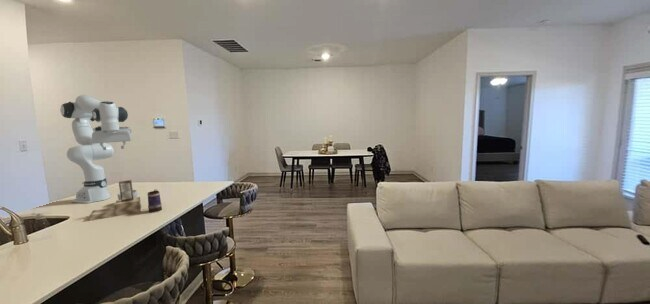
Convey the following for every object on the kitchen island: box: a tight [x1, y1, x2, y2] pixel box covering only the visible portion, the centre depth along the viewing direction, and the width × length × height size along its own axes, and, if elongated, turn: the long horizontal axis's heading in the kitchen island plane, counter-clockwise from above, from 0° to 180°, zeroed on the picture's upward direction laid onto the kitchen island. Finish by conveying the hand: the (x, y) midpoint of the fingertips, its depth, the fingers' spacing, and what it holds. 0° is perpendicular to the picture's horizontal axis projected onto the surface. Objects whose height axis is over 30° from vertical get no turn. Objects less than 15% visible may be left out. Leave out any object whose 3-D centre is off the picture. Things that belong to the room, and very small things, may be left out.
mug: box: [147, 189, 163, 213], centre depth 176 cm, size 10×7×12 cm
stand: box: [89, 196, 142, 221], centre depth 172 cm, size 24×10×7 cm, turn 119°
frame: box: [118, 179, 134, 202], centre depth 173 cm, size 6×3×12 cm, turn 119°
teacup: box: [116, 189, 138, 200], centre depth 193 cm, size 14×11×8 cm
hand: (113, 149), depth 183 cm, fingers open, 8 cm apart
